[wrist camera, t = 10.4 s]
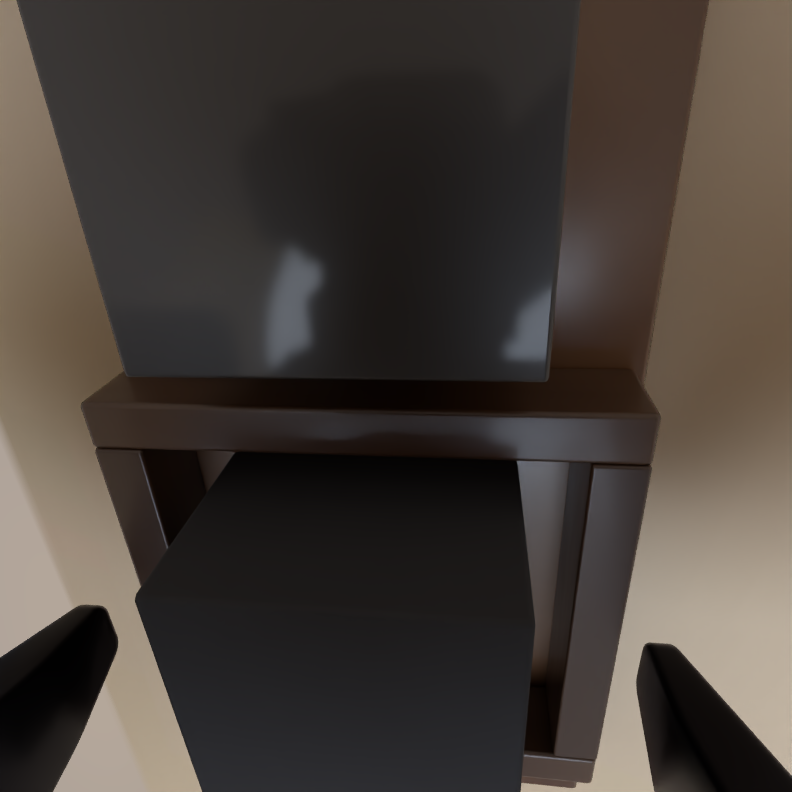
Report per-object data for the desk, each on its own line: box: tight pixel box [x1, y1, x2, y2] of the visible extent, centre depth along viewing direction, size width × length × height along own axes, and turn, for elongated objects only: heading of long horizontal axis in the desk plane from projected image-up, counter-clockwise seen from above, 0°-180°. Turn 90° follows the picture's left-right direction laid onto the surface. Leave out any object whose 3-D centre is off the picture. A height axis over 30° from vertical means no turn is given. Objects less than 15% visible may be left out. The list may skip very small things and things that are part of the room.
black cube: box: [135, 452, 536, 792], centre depth 9 cm, size 5×5×4 cm
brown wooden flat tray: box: [17, 0, 709, 788], centre depth 9 cm, size 9×18×4 cm, turn 2°
